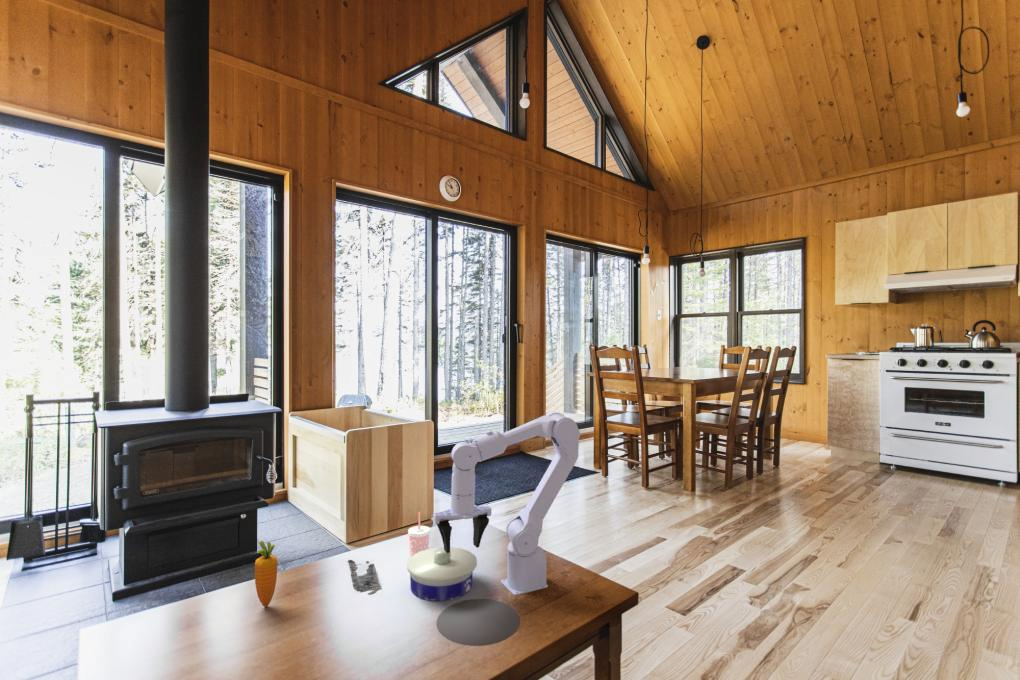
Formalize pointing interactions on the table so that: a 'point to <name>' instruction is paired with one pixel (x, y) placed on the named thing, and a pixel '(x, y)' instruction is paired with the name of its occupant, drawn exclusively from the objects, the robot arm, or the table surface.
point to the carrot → (265, 574)
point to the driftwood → (364, 579)
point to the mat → (478, 622)
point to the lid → (441, 564)
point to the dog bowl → (440, 588)
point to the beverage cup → (418, 538)
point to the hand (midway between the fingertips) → (461, 548)
